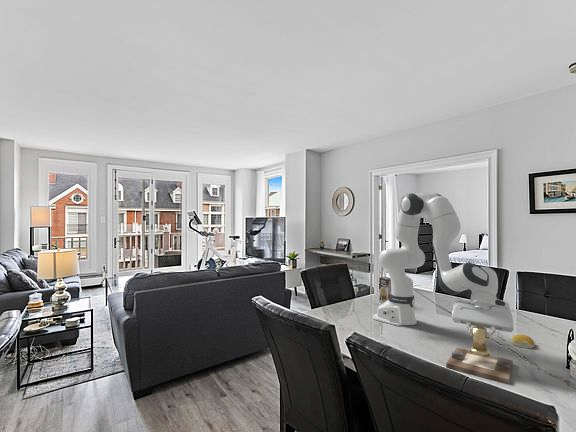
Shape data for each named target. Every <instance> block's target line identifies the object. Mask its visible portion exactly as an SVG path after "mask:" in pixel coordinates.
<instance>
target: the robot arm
mask: <svg viewBox="0 0 576 432" xmlns="http://www.w3.org/2000/svg"><path fill="white" fill-rule="evenodd" d="M424 216H428V218H429V219H428V220H429V221H430V224H431V228H432V239H431V240H432V241H431V245H432V251H433V255H434V260H435V265H436V269H437V278H438V280H437V281H438V285H439V287H440V288H441V290H442V291H443V292H445V293H446V294H448V295H451V296H455V295H457V294H460V293H462V292H464V291H467V290H469V291H471V294H470V301H463V300H457V301H455V302H453V303H452V311H451V319H452V321H453V322H454V323H457V324H462V325H466V328H467V330H468V332H467V334H468V336H471V337H473V328H471V327H472V326H473V327H475V326H478V327H484V328H486V329H490V331H487V333H486V334H487V335H486V337H487V340H492V338H493V337H492V336H493V335H494V334H495V333H496V331H499V332H500V331H502V332H507V333H513V331H514V329H515V328H514V319H513V314H512V312H511V307H510V304H509V302H506V301H505V300H502V299H498V297H497V294H498V290H499V281H498V280H499V278H498V274H497V273H496V271H495V270H494V269H492V268H491V267H487V266H479V265H478V264H476V263H473V262H465V263H462V264H460V265H457V266H456V267H454V268H453V267H452V262H451V259H450V255H449V249H450V246H451V244H452V243H453V241H454V240H455V239H456V238H457V236H458V235H459V233H460V231H461V229H462V228H461V226H462V225H461V222H460V219H459V216H458V215H457V212H456V210H455V208H454V206H453V205H452V203H451V202H450V201H449V199H448V198H447V197H446V196H443V195H441V194H439V193H432V192H431V193H430V192H421V193H420V192H418V193H407V194H405V195H403V196H402V198H401V199H400V210H399V212H398V216H397V220H396V225H395V226H396V227H395V231H394V236H395V239H396V240H397V241H399V242H400V243H401V247H398V248H395V247H394V248H387V249H385V250H382V251H381V252H380V253H379V256H378V262H379V264H380V266H381V267H382V268H383V269H385V271H386V272H387V274H388V275H389V278H390V279H391V293H390V294H389V295H388V297H387V298H388V301H386V302H384V303H382V304H380V305H379V306H378V307H377V311H376V313H374V314H373V315H372V319H373V320H375V321H377V322H378V321H379V322H382V323H386V324H389V325H392V326H395V327H396V326H397V327H399V326H414V325H417V323H418V322H417V317H416V313H415V303H416V301H415V295H414V281H413V279H412V278H411V277H410V276H408V275H407V274H406V272H405V271H406V269H407V270H408V269H409V270H410V269H417V268H419V267H422V266H423V265H424V264H425V261H426V255H425V253H424V251H423V250H422V249H421V248H420V246H419V242H418V237H419V229H420V223H421V218H422V217H424Z"/></svg>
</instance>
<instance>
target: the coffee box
mask: <svg viewBox="0 0 576 432" xmlns="http://www.w3.org/2000/svg"><path fill="white" fill-rule="evenodd" d="M378 282H379V284H378V285H379V290H378V291H379V293H378V294H379V296H378V297H379V303H382V304H383V303H384V302H386V301H388V298H387V297H388V295H389V294H390V293H391V279H390V277H388V276H386V277H385V276H383V277H382V276H381V277H379V280H378Z"/></svg>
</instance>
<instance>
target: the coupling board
mask: <svg viewBox="0 0 576 432" xmlns="http://www.w3.org/2000/svg"><path fill="white" fill-rule="evenodd" d="M445 364H446V365H445V366H446V368H447V369H451V370H455V371H459V372H463V373H467V374H471V375H473V376H477V377H480V378H485V379H489V380H492V381H496V382H500V383H504V384H507V385H509V384H510V381H511V375H512V371H513V366H514V360H513V359H509V358H506V357H505V358H504V357H499V356H495V355H491V354H490V356H478V355H475V354H473V353H471V352H470V349H466V348H460V347H456V348H455V349H454V351H451V355H450V357H449V358H448V360H447V361H446V363H445Z"/></svg>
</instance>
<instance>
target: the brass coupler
mask: <svg viewBox="0 0 576 432" xmlns="http://www.w3.org/2000/svg"><path fill="white" fill-rule="evenodd" d="M472 329H473V336H472V346H470V347H469V350H470V352H471V353H473V354H475V355H478V356H490V355H491V350H490V349H488V339H487V337H486V335H487V334H486V333H487V332H488V331H487V329H488V328H484V327H478V326H473V327H472Z"/></svg>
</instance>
